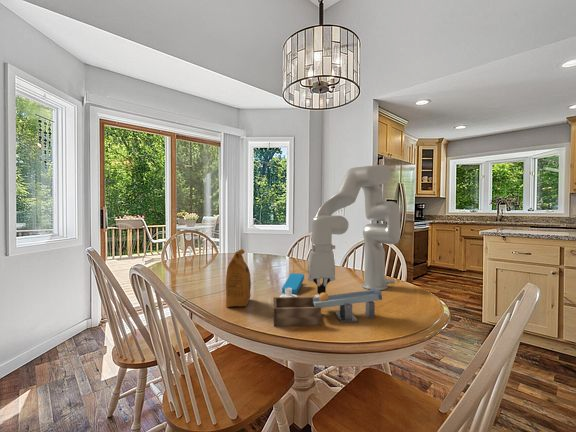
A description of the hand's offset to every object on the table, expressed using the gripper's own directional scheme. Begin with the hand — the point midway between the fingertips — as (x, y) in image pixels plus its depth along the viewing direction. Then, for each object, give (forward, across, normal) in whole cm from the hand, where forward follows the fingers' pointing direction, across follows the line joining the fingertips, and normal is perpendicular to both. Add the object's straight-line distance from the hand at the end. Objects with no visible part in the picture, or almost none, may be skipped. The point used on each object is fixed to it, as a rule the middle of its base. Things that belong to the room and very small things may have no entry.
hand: (321, 295), depth 112 cm
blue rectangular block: (+6, +8, -30) cm, 31 cm away
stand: (+6, -11, +7) cm, 15 cm away
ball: (-2, 0, +7) cm, 8 cm away
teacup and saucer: (+6, +15, -15) cm, 22 cm away
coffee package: (+6, +33, -9) cm, 35 cm away
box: (+6, +11, +8) cm, 15 cm away
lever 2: (0, -8, +4) cm, 9 cm away
